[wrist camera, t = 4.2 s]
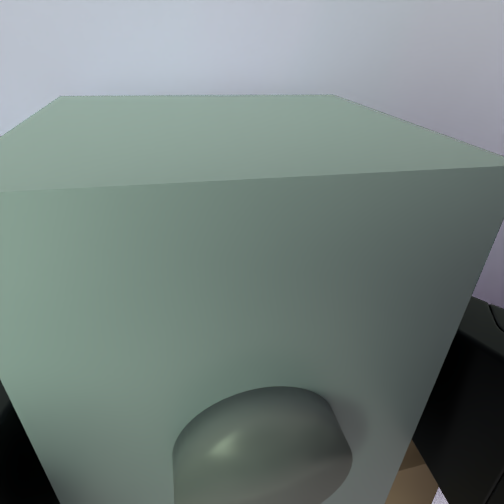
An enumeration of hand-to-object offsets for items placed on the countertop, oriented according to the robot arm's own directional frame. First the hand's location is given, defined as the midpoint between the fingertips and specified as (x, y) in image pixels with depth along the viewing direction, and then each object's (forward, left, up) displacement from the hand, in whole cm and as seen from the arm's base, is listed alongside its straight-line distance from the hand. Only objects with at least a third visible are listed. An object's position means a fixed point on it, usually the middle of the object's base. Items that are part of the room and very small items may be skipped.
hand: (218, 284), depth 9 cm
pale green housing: (0, 0, -1) cm, 1 cm away
